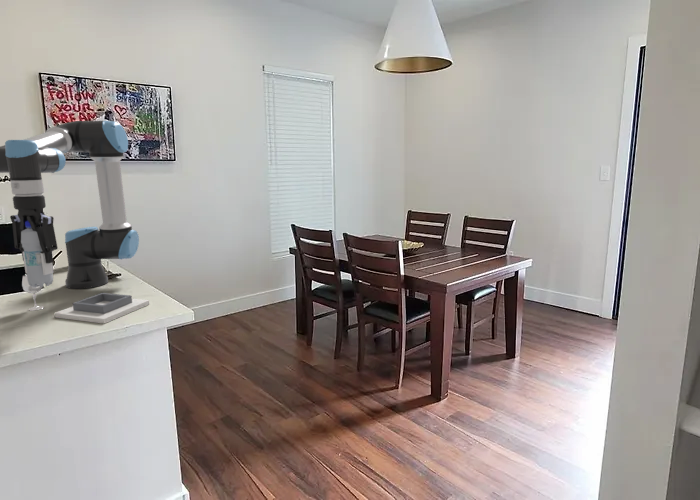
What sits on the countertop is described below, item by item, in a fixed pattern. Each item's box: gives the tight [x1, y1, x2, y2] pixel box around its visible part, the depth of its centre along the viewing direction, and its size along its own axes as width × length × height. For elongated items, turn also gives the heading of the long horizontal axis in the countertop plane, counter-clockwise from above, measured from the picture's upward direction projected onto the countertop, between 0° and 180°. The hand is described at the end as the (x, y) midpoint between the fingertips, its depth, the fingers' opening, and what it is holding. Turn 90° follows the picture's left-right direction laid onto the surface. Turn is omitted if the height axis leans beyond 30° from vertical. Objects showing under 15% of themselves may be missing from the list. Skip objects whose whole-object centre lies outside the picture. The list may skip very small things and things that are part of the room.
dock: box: [53, 292, 150, 324], centre depth 153 cm, size 20×20×4 cm
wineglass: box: [21, 273, 45, 312], centre depth 154 cm, size 6×6×12 cm
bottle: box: [21, 220, 54, 288], centre depth 133 cm, size 7×7×20 cm
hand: (39, 272), depth 135 cm, fingers closed on bottle, 6 cm apart
